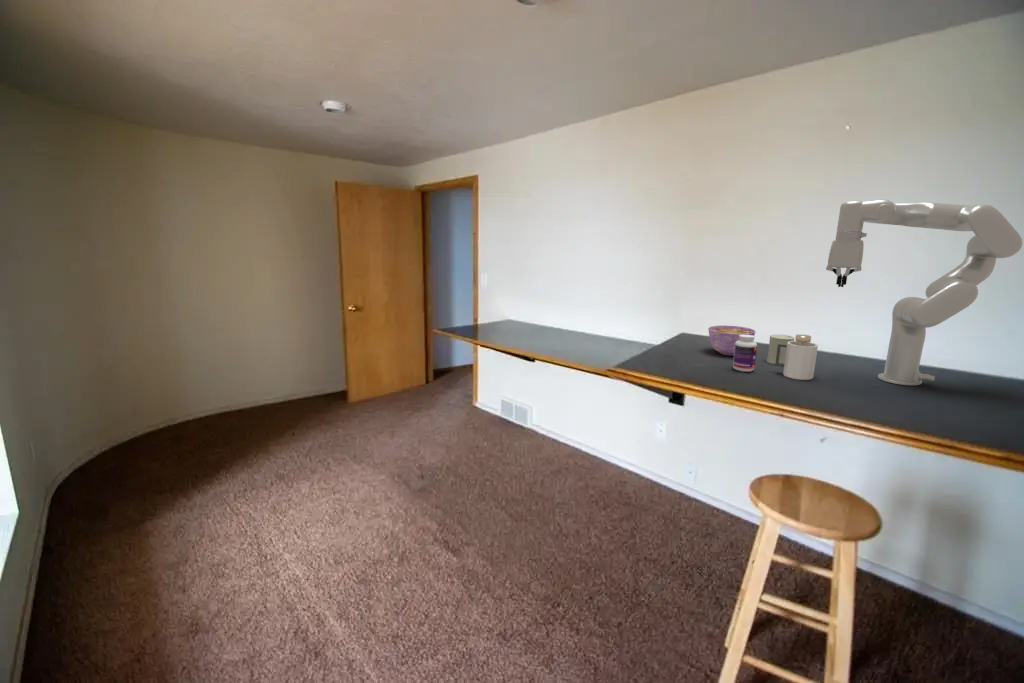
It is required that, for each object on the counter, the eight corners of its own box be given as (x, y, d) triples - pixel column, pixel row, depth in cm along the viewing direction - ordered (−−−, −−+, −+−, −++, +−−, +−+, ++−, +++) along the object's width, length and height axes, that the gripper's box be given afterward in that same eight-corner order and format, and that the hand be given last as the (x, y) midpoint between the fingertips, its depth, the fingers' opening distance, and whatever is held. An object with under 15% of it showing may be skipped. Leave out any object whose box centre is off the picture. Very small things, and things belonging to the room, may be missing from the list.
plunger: (810, 369, 176) (815, 335, 173) (808, 373, 170) (813, 338, 167) (789, 366, 180) (793, 333, 177) (786, 370, 174) (791, 336, 171)
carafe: (814, 375, 176) (819, 343, 174) (811, 381, 169) (816, 348, 166) (776, 369, 184) (780, 338, 181) (772, 375, 177) (776, 343, 174)
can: (795, 365, 190) (799, 337, 188) (773, 365, 190) (777, 338, 188) (783, 359, 199) (786, 333, 197) (762, 359, 199) (765, 333, 197)
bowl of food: (697, 349, 218) (699, 326, 216) (734, 347, 222) (736, 324, 219) (723, 360, 199) (725, 334, 197) (763, 357, 203) (766, 332, 200)
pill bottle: (755, 373, 180) (760, 338, 176) (733, 371, 182) (737, 337, 179) (752, 367, 187) (756, 334, 184) (731, 366, 190) (734, 333, 186)
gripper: (874, 236, 162) (865, 286, 166) (824, 236, 171) (817, 284, 175) (874, 236, 156) (865, 288, 160) (823, 236, 165) (816, 286, 169)
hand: (840, 286), depth 168 cm, fingers closed
